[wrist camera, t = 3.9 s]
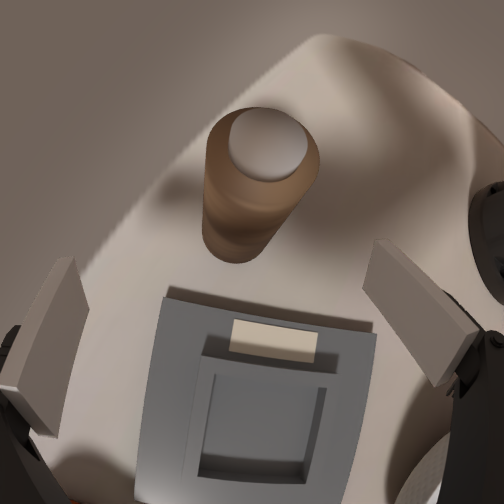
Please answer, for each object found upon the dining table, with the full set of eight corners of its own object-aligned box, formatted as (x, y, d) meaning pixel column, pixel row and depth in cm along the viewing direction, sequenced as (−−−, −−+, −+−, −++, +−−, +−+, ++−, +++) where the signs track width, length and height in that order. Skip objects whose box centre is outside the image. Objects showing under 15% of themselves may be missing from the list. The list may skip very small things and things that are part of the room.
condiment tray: (370, 334, 23) (387, 333, 21) (332, 509, 18) (344, 522, 16) (164, 298, 21) (160, 293, 19) (135, 494, 17) (130, 509, 14)
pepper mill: (272, 208, 24) (329, 110, 13) (262, 269, 23) (324, 205, 12) (209, 194, 24) (222, 83, 12) (195, 255, 22) (193, 175, 11)
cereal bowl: (349, 561, 17) (381, 596, 10) (384, 422, 21) (437, 441, 15) (466, 515, 19) (503, 531, 12) (497, 396, 24) (543, 398, 17)
